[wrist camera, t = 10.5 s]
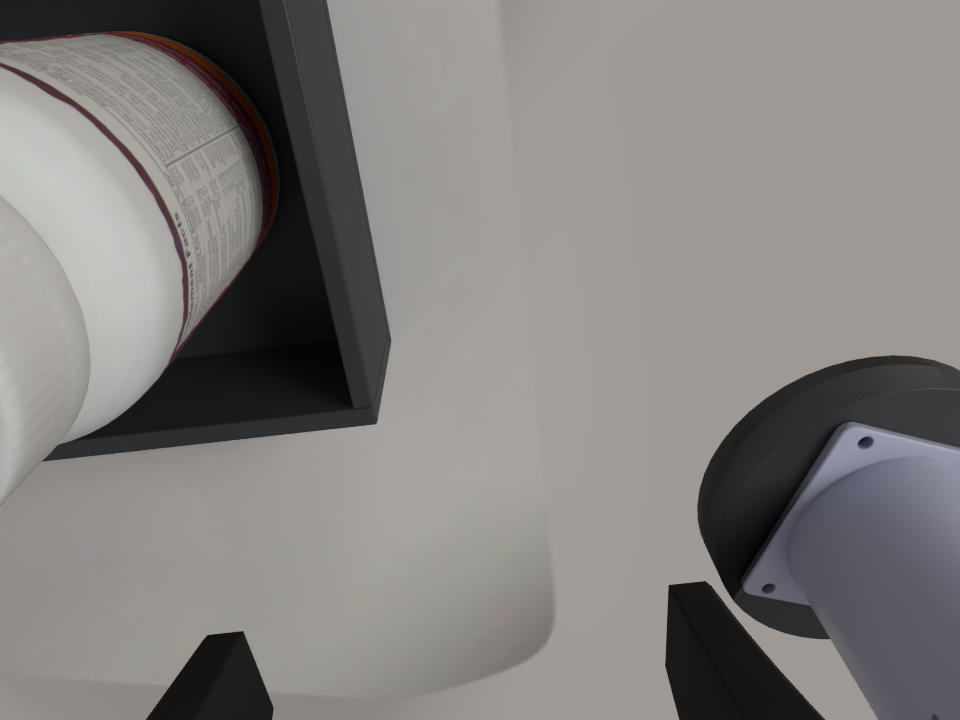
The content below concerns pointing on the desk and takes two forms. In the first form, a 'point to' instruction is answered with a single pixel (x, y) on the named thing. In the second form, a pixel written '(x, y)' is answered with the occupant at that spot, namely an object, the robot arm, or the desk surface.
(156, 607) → the desk surface
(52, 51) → the pill bottle
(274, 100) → the waste bin
